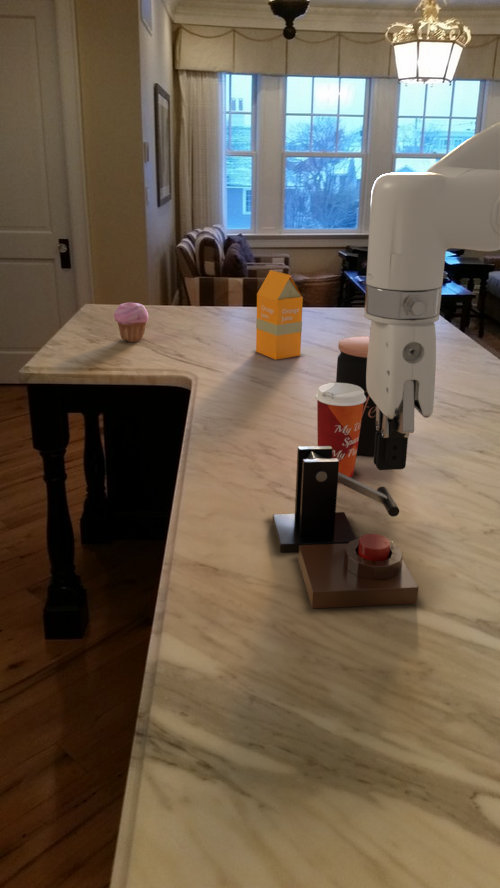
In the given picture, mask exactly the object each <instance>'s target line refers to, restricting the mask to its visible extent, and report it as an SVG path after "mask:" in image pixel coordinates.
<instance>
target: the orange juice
mask: <svg viewBox="0 0 500 888" xmlns="http://www.w3.org/2000/svg"><path fill="white" fill-rule="evenodd" d="M303 299H304V297H303V296H302V294H301V292H300V291H299V288H298V287H297V284H296V283H295V281H294V279H293V278H292V275H291V274H287V273H283V272H281V271H275V270H273V269H270V270H269V271H268V273H267V275H266V277H265V278H264V280H263V282H262V284H261V286H260V288H259V290H258V291H257V293H256V319H255V320H256V321H255V325H256V327H255V329H256V330H255V333H256V339H255V352H256V353H259V354H261V355H264V356H266V357H268V358H270V359H273V360H275V361H277V360H282V359H288V358H289V359H290V358H293V357H300V356H301V350H302V333H303V332H302V330H303V302H304V300H303Z"/></svg>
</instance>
